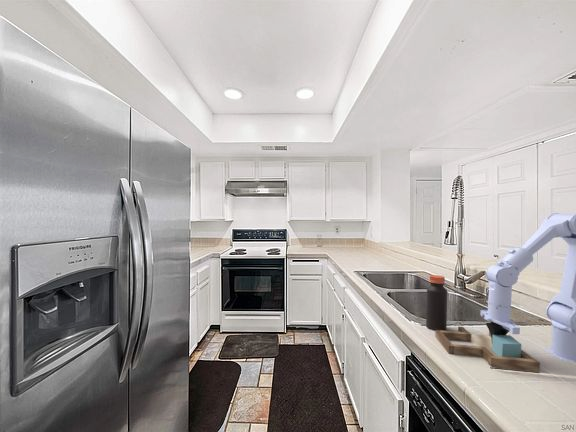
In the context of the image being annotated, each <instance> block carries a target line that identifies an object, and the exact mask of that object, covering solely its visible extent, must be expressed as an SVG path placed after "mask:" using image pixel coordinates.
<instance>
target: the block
mask: <svg viewBox="0 0 576 432" xmlns="http://www.w3.org/2000/svg"><path fill="white" fill-rule="evenodd" d="M521 350H522V343H521V342H519V341H518V340H517V339H515V338H514V337H513V336H512V335H510V334H506V335H493V337H492V351H494V352H495V353H496V354H497V355H498V356H502V357H513V358H521Z"/></svg>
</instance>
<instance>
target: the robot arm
mask: <svg viewBox="0 0 576 432" xmlns="http://www.w3.org/2000/svg"><path fill="white" fill-rule="evenodd" d="M540 224H541V225H540V227H538V229H537V230H536V231H535V232H534V233H533V234H532V235H531V237H529V238H528V240H527V241H526V242H525V243H524V244H523V245H522V246H521V247H514V248H513V249H512V248H510V249H509V250H508V251H507V252H508V253H507V254H506V255H505V256H504V257H503V258H502V259H501V260H498V262H497V264H494V265H491V266H489V267H488V268H487V270H486V272H484V276H485V278H486V279H487V282H488V300H487V301H488V302H487V303H488V304H487V309H486V310H483V309H481V310H480V317H482V318H483V319H484V320H486V321H487V322H486V323H485V325H486V327H487V329H488V332H489V331H490V334H491V339H492V337H493V335H508V334H509V332H510V334H512V335H520V334H521V333H520V329H521V328H520V326H518V325H517V324H515V323H514V321H512V320H511V313H512V312H511V311H512V297H513V296H512V292H513V285H515V284H517V282H518V279H519V275H520V273H521V272H523V271H524V269H525V268H527V267H528V266H529V265H530V264H531V263H532V262H533V261H534V255H535V254H536V253H537V252H538V251H539V250H541V249H542V248H543V247H545V245H547V244H548V243H549V242H551V241H552V240H553V239H555V238H561V239H563V240H564V241H565V242H566V243H567V244H568V248H567V253H566V258H565V263H564V269H563V273H562V279H561V283H560V284H561V285H560V288H559V289H560V290H559V293H558V294H556V295H554V296H552V297H551V299H550V303H549V304H547V306H546V307H545V315H546V317H547V318H548V319H549V320H550V324H551V347H549V348H548V347H544V348H543V349H544V350H545V351H548V352H549V353H551V354H552V355H553V356H555V357H557V359H560V360H561V361H564V362H565V361H566V362H574V363H576V213H559V212H555V213H551V214H549V215H548V216H547V217H546V218H544V219H543V220H542V221H541V223H540Z"/></svg>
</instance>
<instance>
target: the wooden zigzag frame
mask: <svg viewBox="0 0 576 432" xmlns="http://www.w3.org/2000/svg"><path fill="white" fill-rule="evenodd" d="M434 332H435V333H434V335H435V339H436V340H437V341H438V342H439V343H440V345H441V346H442V347H443V349H444V350H445V351H446V352H447V354H449V355H458V356H469V357H479V358H480V357H481V358H482V359H484V360H485V361H486V362H487V364H488V365H489V366H490V369H494V370H502V371H512V372H513V371H514V372H523V373H533V374H540V365H541V364H540V361H538V360H537V359H535V358H534V357H532V356H531V355H529V354H528V353H527V352H525V351H524V350H523V349H521V358H513V357H502V356H498V355H497V354H496V353H495V352H494V351H492V339H491V334H490V331H489V330H488V335H486V334H485V335H484V334H473V333H470V332H469V331H468V330H467V328H465V327H464V326H458V330H457V331H451V330H446V331H443V330H435V331H434ZM451 341H460V342H470V343H472V344H473V345H467V344H458V343H457V344H455V343H452V342H451Z"/></svg>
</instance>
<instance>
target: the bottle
mask: <svg viewBox="0 0 576 432" xmlns="http://www.w3.org/2000/svg"><path fill="white" fill-rule="evenodd" d="M445 281H446V278H445V276H443V275H437V274H430V275H429V283H430V285H429V286H428V287H427V288H426V308H425V309H426V314H425V315H426V317H425V318H426V321H425V322H426V323H425V327H426V328H427V329H428V330H430V331H434V332H435V330H443V331H447V327H448V326H447V323H448V316H447V315H448V313H447V312H448V290H447V288H445V286H444V285H445Z"/></svg>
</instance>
